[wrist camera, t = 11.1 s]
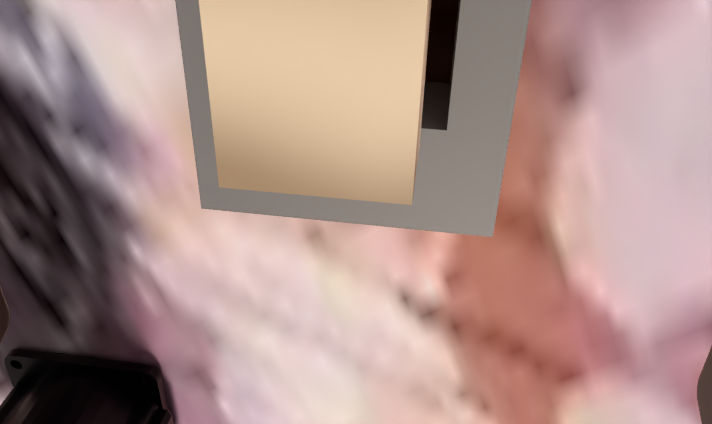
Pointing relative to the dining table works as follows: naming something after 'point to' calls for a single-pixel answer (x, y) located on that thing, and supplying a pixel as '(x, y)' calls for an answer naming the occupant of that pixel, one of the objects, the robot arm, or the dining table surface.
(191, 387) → the dining table surface
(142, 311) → the dining table surface
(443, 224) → the grey piece
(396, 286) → the dining table surface
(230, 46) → the beech clip
